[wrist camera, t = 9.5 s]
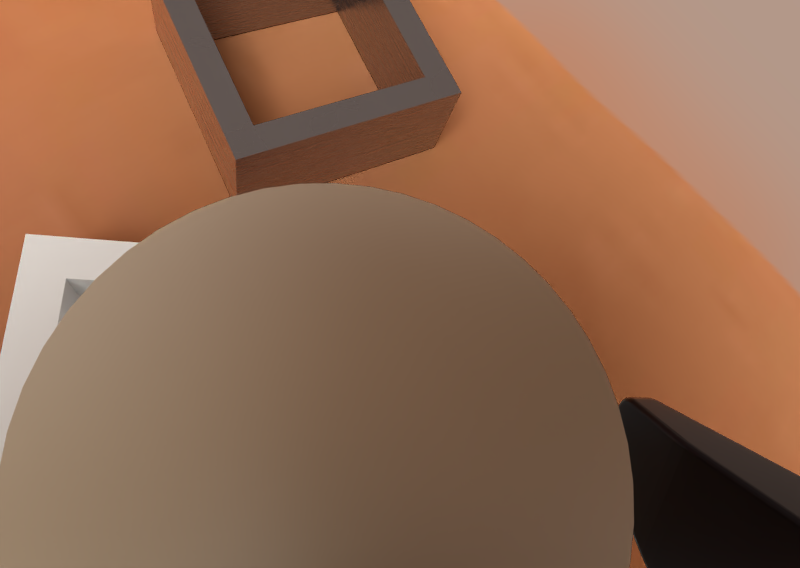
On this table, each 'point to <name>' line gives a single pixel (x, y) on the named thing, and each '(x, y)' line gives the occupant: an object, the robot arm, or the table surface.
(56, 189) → the table surface
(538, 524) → the dowel
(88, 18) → the table surface
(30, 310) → the tray
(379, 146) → the collar
